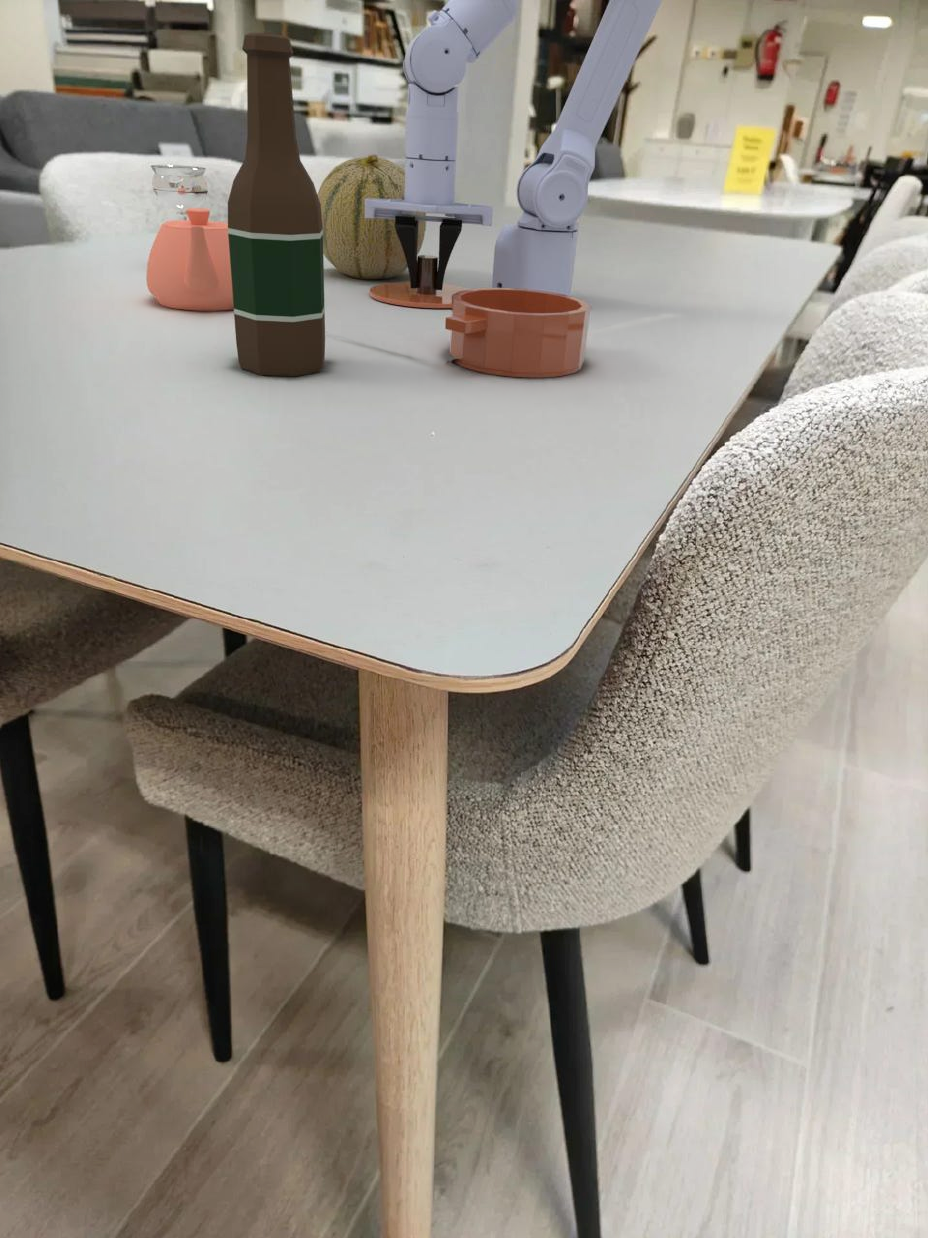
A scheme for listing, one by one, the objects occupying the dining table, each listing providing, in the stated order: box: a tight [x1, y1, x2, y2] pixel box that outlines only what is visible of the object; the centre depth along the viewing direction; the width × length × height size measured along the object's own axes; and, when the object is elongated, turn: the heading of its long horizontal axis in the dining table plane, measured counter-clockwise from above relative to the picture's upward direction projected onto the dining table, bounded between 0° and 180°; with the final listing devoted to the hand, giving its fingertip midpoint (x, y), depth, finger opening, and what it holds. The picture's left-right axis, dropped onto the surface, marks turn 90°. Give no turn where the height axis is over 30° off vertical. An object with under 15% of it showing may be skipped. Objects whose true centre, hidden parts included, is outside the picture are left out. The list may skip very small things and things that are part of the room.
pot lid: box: [369, 254, 471, 309], centre depth 102 cm, size 14×14×5 cm
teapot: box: [146, 207, 234, 312], centre depth 93 cm, size 12×18×10 cm
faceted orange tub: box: [444, 287, 591, 379], centre depth 80 cm, size 13×18×5 cm
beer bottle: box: [227, 32, 326, 377], centre depth 69 cm, size 8×8×24 cm
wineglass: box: [150, 164, 209, 220], centre depth 111 cm, size 7×7×12 cm
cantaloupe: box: [317, 154, 427, 281], centre depth 111 cm, size 15×15×15 cm
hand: (426, 287), depth 103 cm, fingers closed on pot lid, 2 cm apart
